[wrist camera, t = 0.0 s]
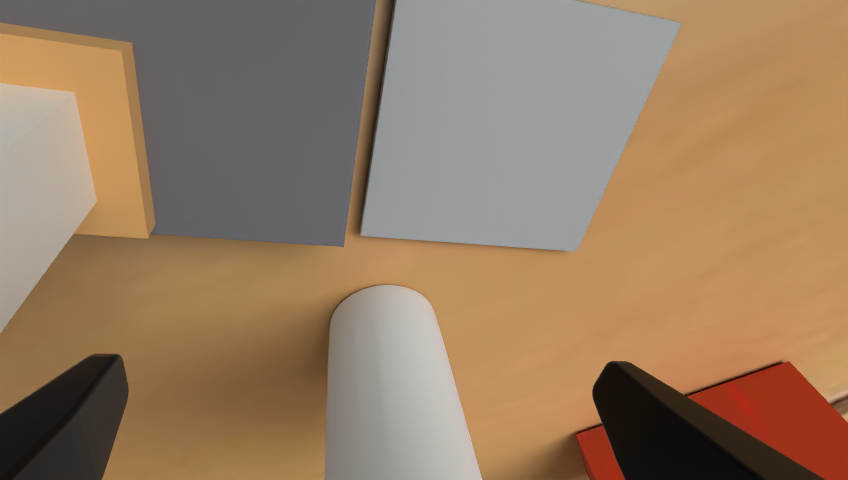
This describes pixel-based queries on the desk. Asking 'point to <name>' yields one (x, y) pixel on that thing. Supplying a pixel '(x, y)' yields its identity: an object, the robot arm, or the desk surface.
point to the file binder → (758, 423)
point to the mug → (393, 393)
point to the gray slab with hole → (238, 107)
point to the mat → (506, 118)
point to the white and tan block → (66, 151)
